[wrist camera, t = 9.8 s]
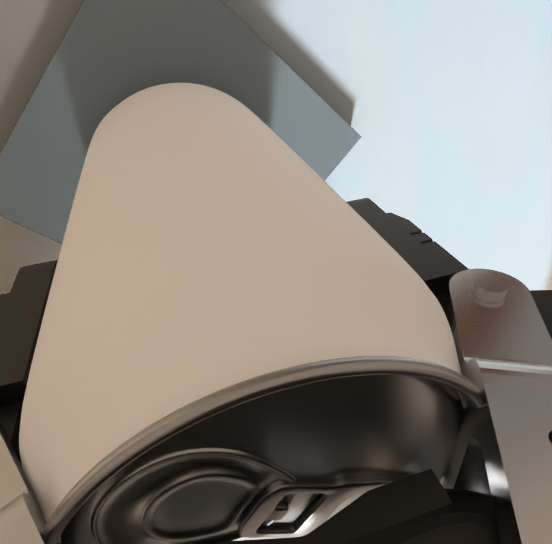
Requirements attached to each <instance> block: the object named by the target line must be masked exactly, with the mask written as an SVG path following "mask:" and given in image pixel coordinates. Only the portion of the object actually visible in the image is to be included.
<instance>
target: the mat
mask: <svg viewBox="0 0 552 544" xmlns="http://www.w3.org/2000/svg"><path fill="white" fill-rule="evenodd" d="M167 83H193V84H200V85H204V86H208V87H211V88H214V89H217V90H219V91H222V92H224V93H226V94H228V95H230V96H231V97H233V98H235V99H236V100H238V101H239V102H241V103H242V104H243V105H245V106H246V107H247V108H248V109H250V110H251V111H252V112H253V113H254V114H255V115H256V116H257V117H258V118H259V119H261V120H262V121H263V122H264V123H265V124H266V125H267V126H268V127H269V128H270V129H271V130H272V131H273V132H274V133H275V134H276V135H277V136H278V137H280V138H281V139H282V140H283V141H284V142H285V143H286V144H287V145H288V146H289V147H290V148H291V149H292V150H293V151H294V152H295V153H296V154H297V155H298V156H299V157H300V158H301V159H302V160H303V161H304V162H305V163H307V164H308V165H309V166H310V167H311V168H312V169H313V170H314V171H315V172H316V173H317V174H318V175H319V176H320V177H321V178H322V179H323V180H324V181H325V180H326V179H327V177H328V176H329V175H330V174H331V173H332V171H333V170H334V169H335V168H336V166H337V165H338V164H339V163H340V162H341V160H342V159H343V158H344V157H345V156H346V154H347V153H348V152H349V151H350V150H351V148H352V147H353V146H354V145H355V144H356V142H357V141H358V140H359V139H360V138H361V136H360V135H359V134H358V133H357V132H356V131H355V130H354V129H353V128H352V127H351V126H350V125H349V124H348V123H347V122H346V121H345V120H344V119H343V118H342V117H340V116H339V115H338V114H337V113H336V112H335V111H334V110H333V109H332V108H331V107H330V106H329V105H328V104H327V103H326V102H325V101H324V100H323V99H322V98H321V97H320V96H319V95H318V94H317V93H316V92H315V91H314V90H313V89H312V88H311V87H309V86H308V85H307V84H306V83H305V82H304V81H303V80H302V79H301V78H300V77H299V76H298V75H297V74H296V73H295V72H294V71H293V70H292V69H291V68H290V67H289V66H288V65H287V64H286V63H285V62H284V61H283V60H282V59H281V58H280V57H278V56H277V55H276V54H275V53H274V52H273V51H272V50H271V49H270V48H269V47H268V46H267V45H266V44H265V43H264V42H263V41H262V40H261V39H260V38H259V37H258V36H257V35H256V34H255V33H254V32H253V31H252V30H251V29H250V28H249V27H247V26H246V25H245V24H244V23H243V22H242V21H241V20H240V19H239V18H238V17H237V16H236V15H235V14H234V13H233V12H232V11H231V10H230V9H229V8H228V7H227V6H226V5H225V4H224V3H223V2H222V1H221V0H84V2H83V3H82V5H81V7H80V9H79V11H78V13H77V14H76V16H75V18H74V20H73V22H72V23H71V25H70V27H69V29H68V31H67V33H66V34H65V36H64V38H63V40H62V42H61V44H60V45H59V47H58V49H57V51H56V53H55V55H54V56H53V58H52V60H51V62H50V64H49V66H48V67H47V69H46V71H45V73H44V75H43V76H42V78H41V80H40V82H39V84H38V86H37V87H36V89H35V91H34V93H33V95H32V97H31V98H30V100H29V102H28V104H27V106H26V108H25V109H24V111H23V113H22V115H21V117H20V118H19V120H18V122H17V124H16V126H15V128H14V129H13V131H12V133H11V135H10V137H9V139H8V140H7V142H6V144H5V146H4V148H3V150H2V151H1V153H0V216H2V217H4V218H7V219H9V220H11V221H13V222H15V223H18V224H20V225H22V226H24V227H26V228H29V229H31V230H33V231H35V232H37V233H40V234H42V235H44V236H46V237H49V238H51V239H53V240H55V241H57V242H60V243H63V239H64V235H65V232H66V228H67V224H68V220H69V216H70V213H71V209H72V205H73V202H74V198H75V194H76V191H77V187H78V183H79V180H80V176H81V172H82V169H83V165H84V162H85V158H86V155H87V152H88V148H89V145H90V143H91V140H92V137H93V135H94V133H95V131H96V129H97V127H98V125H99V124H100V122H101V121H102V120H103V118H104V117H105V116H106V115H107V114H108V113H109V112H110V111H111V110H112V109H113V108H114V107H116V106H117V105H118V104H119V103H121V102H122V101H123V100H125V99H126V98H128V97H130V96H131V95H133V94H135V93H137V92H139V91H141V90H144V89H146V88H149V87H153V86H156V85H161V84H167Z"/></svg>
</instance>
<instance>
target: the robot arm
mask: <svg viewBox="0 0 552 544" xmlns="http://www.w3.org/2000/svg"><path fill="white" fill-rule="evenodd" d="M347 203H348V204H349V205H350V206H351V207H352V208H353V209H354V210H355V211H356V212H357V213H358V214H359V215H360V216H361V217H362V218H363V219H364V220H365V221H366V222H367V223H368V224H369V225H370V226H371V227H372V228H373V229H374V230H375V231H376V232H377V233H378V234H379V235H380V236H381V237H382V238H383V239H384V240H385V241H386V242H387V243H388V244H389V245H390V246H391V247H392V248H393V249H394V250H395V251H396V252H397V253H398V254H399V255H400V256H401V257H402V258H403V259H404V260H405V261H406V262H407V263H408V264H409V266H410V267H411V268H412V269H413V270H414V271H415V272H416V273H417V274H418V275H419V276H420V277H421V279H422V280H423V281H424V282H425V284H426V285H427V286H428V288H429V289H430V290H431V291H432V293H433V294H434V295H435V297H436V298H437V300H438V301H439V303H440V305H441V307H442V309H443V311H444V313H445V315H446V318H447V320H448V323H449V326H450V329H451V332H452V335H453V339H454V343H455V347H456V351H457V355H458V360H459V364H460V369H461V373H462V375H463V376H465V377H466V378H468V379H469V380H471V381H472V382H473V383H474V384H476V385H477V386H478V387H479V388H480V389H481V390H482V391H483V393H484V400H483V404H482V406H481V407H480V408H475V407H473V406H471V405H468V404H467V405H466V406H465V407H464V410H463V414H462V419H461V424H460V428H459V432H458V436H457V439H456V443H455V446H454V450H453V453H452V456H451V459H450V462H449V465H448V467H447V469H446V471H445V473H444V476H443V484H442V485H441V483H440V481H439V480H438V478H437V477H436V475H435V474H434V472H433V470H432V469H428V470H426V471H423V472H420V473H417V474H414V475H411V476H408V477H406V478H403V479H400V480H397V481H394V482H391V483H388V484H386V485H383V486H380V487H377V488H374V489H371V490H368V491H367V492H365V493H364V494H363V495H361V496H360V497H358V498H357V499H356V500H354V501H353V502H352V503H350V504H349V505H347V506H346V507H345V508H343V509H342V510H341V511H339V512H338V513H336V514H335V515H334V516H332V517H331V518H330V519H328V520H327V521H325V522H324V523H323V524H321V525H320V526H319V527H317V528H316V529H314V530H313V531H312V532H310V533H308V534H307V535H304V536H301V537H292V538H275V539H258V540H241V541H224V542H219V543H217V544H552V290H537V291H529V289H528V288H527V287H526V286H525V285H524V284H523V283H522V282H520V281H519V280H517V279H516V278H514V277H512V276H510V275H507V274H505V273H502V272H498V271H494V270H489V269H468V268H467V267H465V266H464V265H463V264H462V263H461V262H459V261H458V260H457V259H456V258H454V257H453V256H452V255H451V254H450V253H448V252H447V251H446V250H445V249H443V248H442V247H441V246H440V245H439V244H437V243H436V242H433V241H432V239H431V238H430V237H429V236H428V235H426V234H425V233H422V231H421V230H420V229H419V228H418V227H417V226H415V225H414V224H413V223H412V222H410V221H409V220H407V219H405V218H402V217H400V216H397V215H395V214H392V213H385V212H384V211H383V210H382V209H381V208H379V207H378V206H377V205H376V204H375V203H374V202H372V201H371V200H370V199H369V198H364V199H359V200H354V201H349V202H347ZM57 262H58V260H55V261H50V262H45V263H40V264H35V265H30V266H25V267H21V268H20V269H19V271H18V274H17V276H16V279H15V282H14V284H13V287H12V289H11V292H10V293H7V294H2V295H0V544H47V543H46V541H45V540H44V538H43V536H42V531H43V529H44V528H45V526H46V520H45V518H44V515H43V513H42V511H41V508H40V506H39V504H38V502H37V500H36V498H35V495H34V493H33V491H32V489H31V487H30V485H29V483H28V481H27V478H26V476H25V474H24V471H23V468H22V464H21V458H20V452H19V431H20V421H21V412H22V405H23V400H24V396H25V391H26V386H27V382H28V377H29V372H30V368H31V364H32V360H33V356H34V352H35V348H36V344H37V340H38V336H39V332H40V328H41V324H42V320H43V316H44V312H45V308H46V304H47V300H48V296H49V293H50V289H51V285H52V281H53V277H54V273H55V269H56V266H57ZM56 544H61V543H60V542H59V541H57V543H56Z"/></svg>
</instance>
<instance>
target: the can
mask: <svg viewBox="0 0 552 544" xmlns="http://www.w3.org/2000/svg"><path fill="white" fill-rule="evenodd" d="M483 400H484V393H483V391H482V390H481V389H480V388H479V387H478V386H477V385H476V384H474V383H473V382H472V381H471V380H469V379H468V378H466V377H465V376H463V375H462V373H461V369H460V364H459V360H458V355H457V351H456V347H455V343H454V339H453V335H452V332H451V329H450V326H449V323H448V320H447V318H446V315H445V313H444V311H443V309H442V307H441V305H440V303H439V301H438V300H437V298H436V297H435V295H434V294H433V293H432V291H431V290H430V289H429V288H428V286H427V285H426V284H425V282H424V281H423V280H422V279H421V277H420V276H419V275H418V274H417V273H416V272H415V271H414V270H413V269H412V268H411V267H410V266H409V264H408V263H407V262H406V261H405V260H404V259H403V258H402V257H401V256H400V255H399V254H398V253H397V252H396V251H395V250H394V249H393V248H392V247H391V246H390V245H389V244H388V243H387V242H386V241H385V240H384V239H383V238H382V237H381V236H380V235H379V234H378V233H377V232H376V231H375V230H374V229H373V228H372V227H371V226H370V225H369V224H368V223H367V222H366V221H365V220H364V219H363V218H362V217H361V216H360V215H359V214H358V213H357V212H356V211H355V210H354V209H353V208H352V207H351V206H350V205H349V204H348V203H347V202H346V201H345V200H343V199H342V198H341V197H340V196H339V195H338V194H337V193H336V192H335V191H334V190H333V189H332V188H331V187H330V186H329V185H328V184H327V183H326V182H325V181H324V180H323V179H322V178H321V177H320V176H319V175H318V174H317V173H316V172H315V171H314V170H313V169H312V168H311V167H310V166H309V165H308V164H307V163H305V162H304V161H303V160H302V159H301V158H300V157H299V156H298V155H297V154H296V153H295V152H294V151H293V150H292V149H291V148H290V147H289V146H288V145H287V144H286V143H285V142H284V141H283V140H282V139H281V138H280V137H278V136H277V135H276V134H275V133H274V132H273V131H272V130H271V129H270V128H269V127H268V126H267V125H266V124H265V123H264V122H263V121H262V120H261V119H259V118H258V117H257V116H256V115H255V114H254V113H253V112H252V111H251V110H250V109H248V108H247V107H246V106H245V105H243V104H242V103H241V102H239V101H238V100H236V99H235V98H233V97H231V96H230V95H228V94H226V93H224V92H222V91H219V90H217V89H214V88H211V87H208V86H204V85H200V84H193V83H167V84H161V85H156V86H153V87H149V88H146V89H144V90H141V91H139V92H137V93H135V94H133V95H131V96H130V97H128V98H126V99H125V100H123V101H122V102H121V103H119V104H118V105H117V106H116V107H114V108H113V109H112V110H111V111H110V112H109V113H108V114H107V115H106V116H105V117H104V118H103V120H102V121H101V122H100V124H99V125H98V127H97V129H96V131H95V133H94V135H93V137H92V140H91V143H90V145H89V148H88V152H87V155H86V158H85V162H84V165H83V169H82V172H81V176H80V180H79V183H78V187H77V191H76V194H75V198H74V202H73V205H72V209H71V213H70V216H69V220H68V224H67V228H66V232H65V235H64V239H63V243H62V247H61V250H60V254H59V258H58V262H57V266H56V269H55V273H54V277H53V281H52V285H51V289H50V293H49V296H48V300H47V304H46V308H45V312H44V316H43V320H42V324H41V328H40V332H39V336H38V340H37V344H36V348H35V352H34V356H33V360H32V364H31V368H30V372H29V377H28V382H27V386H26V391H25V396H24V400H23V405H22V412H21V421H20V431H19V452H20V458H21V464H22V468H23V471H24V474H25V476H26V478H27V481H28V483H29V485H30V487H31V489H32V491H33V493H34V495H35V498H36V500H37V502H38V504H39V506H40V508H41V511H42V513H43V515H44V518H45V520H46V526H45V528H44V529H43V531H42V536H43V538H44V540H45V541H46V543H47V544H56V543H57V541H59V542H60V543H61V544H217V543H219V542H224V541H241V540H258V539H275V538H292V537H301V536H304V535H307V534H308V533H310V532H312V531H313V530H314V529H316V528H317V527H319V526H320V525H321V524H323V523H324V522H325V521H327V520H328V519H330V518H331V517H332V516H334V515H335V514H336V513H338V512H339V511H341V510H342V509H343V508H345V507H346V506H347V505H349V504H350V503H352V502H353V501H354V500H356V499H357V498H358V497H360V496H361V495H363V494H364V493H365V492H367V491H368V490H371V489H374V488H377V487H380V486H383V485H386V484H388V483H391V482H394V481H397V480H400V479H403V478H406V477H408V476H411V475H414V474H417V473H420V472H423V471H426V470H428V469H432V470H433V472H434V474H435V475H436V477H437V478H438V480H439V481H440V483H441V485H442V484H443V476H444V473H445V471H446V469H447V467H448V465H449V462H450V459H451V456H452V453H453V450H454V446H455V443H456V439H457V436H458V432H459V428H460V424H461V419H462V414H463V410H464V407H465V406H466V405H467V404H468V405H471V406H473V407H475V408H480V407H481V406H482V404H483Z"/></svg>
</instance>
